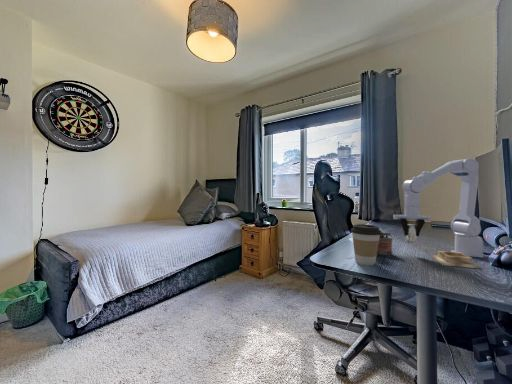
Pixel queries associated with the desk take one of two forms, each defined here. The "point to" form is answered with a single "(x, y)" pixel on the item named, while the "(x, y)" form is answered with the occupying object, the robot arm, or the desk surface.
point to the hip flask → (385, 244)
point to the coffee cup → (365, 243)
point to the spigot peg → (411, 233)
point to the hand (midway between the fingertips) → (411, 235)
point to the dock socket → (455, 259)
